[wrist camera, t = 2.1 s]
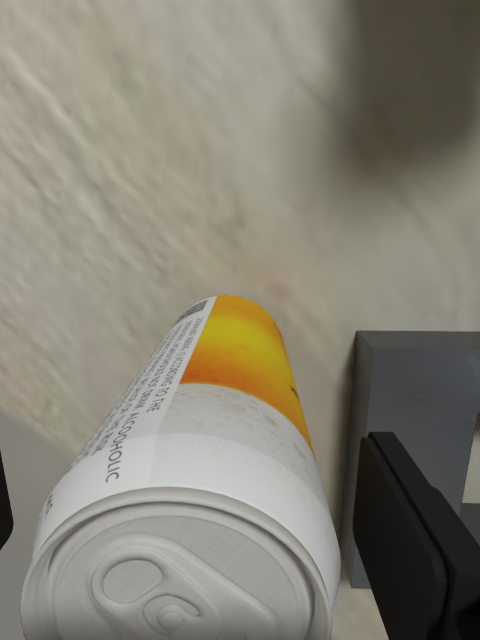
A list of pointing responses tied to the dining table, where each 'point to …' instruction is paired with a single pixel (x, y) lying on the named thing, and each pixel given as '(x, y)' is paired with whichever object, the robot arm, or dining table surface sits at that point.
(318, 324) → the dining table surface
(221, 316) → the beer can
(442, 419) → the plate
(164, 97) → the dining table surface
